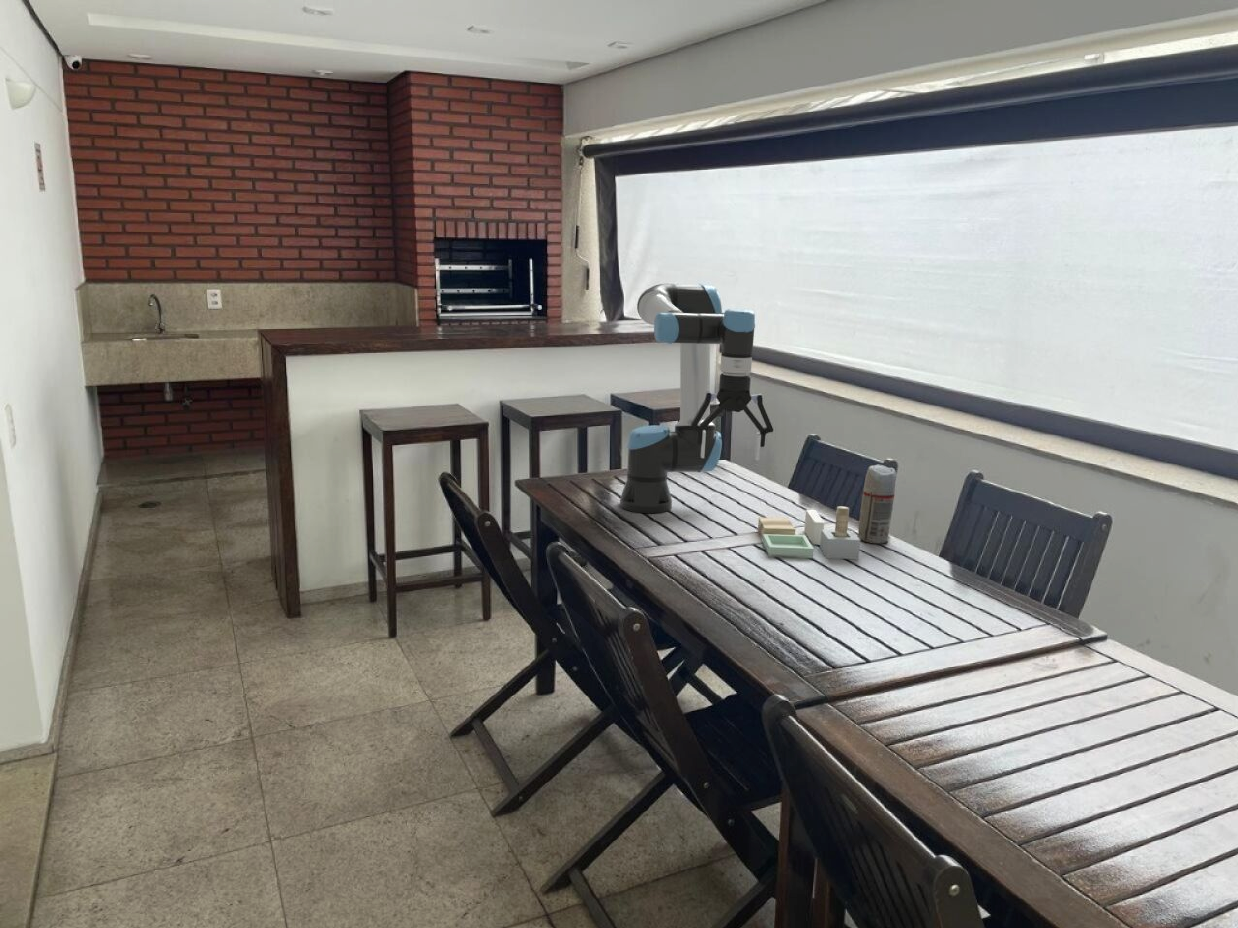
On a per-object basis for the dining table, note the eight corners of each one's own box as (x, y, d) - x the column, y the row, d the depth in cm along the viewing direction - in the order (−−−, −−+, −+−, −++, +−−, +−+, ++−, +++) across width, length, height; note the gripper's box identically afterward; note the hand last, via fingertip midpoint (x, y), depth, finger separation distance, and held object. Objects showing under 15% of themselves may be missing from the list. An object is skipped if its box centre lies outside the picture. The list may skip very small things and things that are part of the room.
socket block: (820, 548, 249) (821, 529, 248) (851, 549, 249) (852, 530, 248) (826, 558, 241) (828, 538, 240) (858, 559, 241) (860, 540, 240)
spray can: (886, 536, 262) (893, 464, 257) (891, 545, 254) (899, 471, 249) (854, 534, 262) (861, 462, 258) (859, 543, 254) (866, 469, 250)
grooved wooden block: (757, 531, 263) (758, 517, 262) (787, 532, 263) (788, 518, 262) (763, 542, 253) (764, 528, 252) (794, 543, 253) (795, 529, 252)
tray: (762, 543, 251) (763, 533, 251) (804, 544, 251) (805, 535, 251) (768, 556, 241) (769, 547, 240) (812, 558, 241) (813, 548, 240)
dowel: (831, 551, 247) (835, 506, 244) (843, 551, 247) (847, 506, 244) (834, 555, 244) (838, 509, 241) (846, 555, 244) (850, 509, 241)
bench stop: (804, 530, 264) (806, 509, 262) (813, 531, 264) (815, 509, 262) (812, 544, 252) (814, 522, 251) (822, 544, 252) (824, 522, 251)
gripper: (684, 373, 233) (680, 459, 238) (788, 378, 232) (781, 463, 237) (683, 369, 240) (679, 452, 245) (784, 373, 239) (777, 456, 245)
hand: (729, 458), depth 241 cm, fingers open, 13 cm apart
